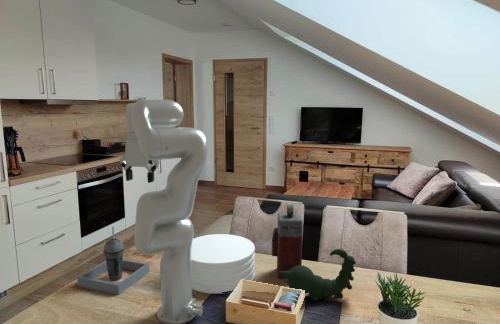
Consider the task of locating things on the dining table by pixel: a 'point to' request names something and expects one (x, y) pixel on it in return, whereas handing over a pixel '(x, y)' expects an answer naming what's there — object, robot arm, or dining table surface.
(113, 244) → the beverage cup
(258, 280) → the dining table surface
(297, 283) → the toy figurine
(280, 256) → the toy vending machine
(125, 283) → the grey square frame
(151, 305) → the dining table surface
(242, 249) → the plate stack
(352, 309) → the dining table surface
